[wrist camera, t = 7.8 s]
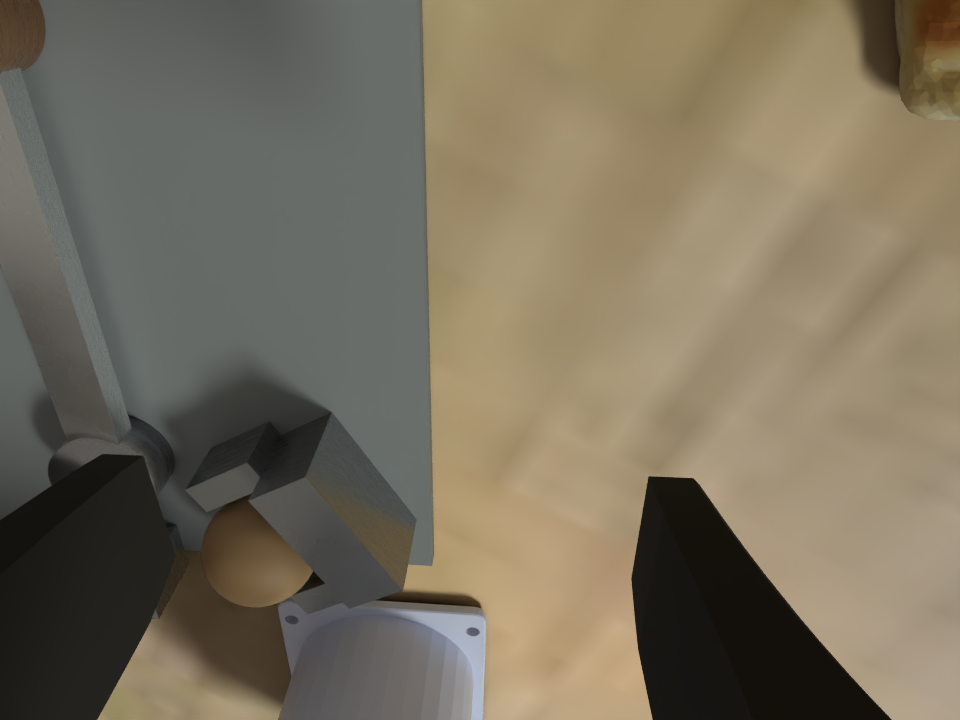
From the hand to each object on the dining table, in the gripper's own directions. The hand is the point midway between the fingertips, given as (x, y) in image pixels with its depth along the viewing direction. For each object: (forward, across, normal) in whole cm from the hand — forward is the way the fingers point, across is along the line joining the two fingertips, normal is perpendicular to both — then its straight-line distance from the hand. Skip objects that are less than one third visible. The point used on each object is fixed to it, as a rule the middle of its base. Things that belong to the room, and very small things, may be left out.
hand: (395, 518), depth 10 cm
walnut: (+10, +6, +9) cm, 15 cm away
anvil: (+10, +5, +9) cm, 14 cm away
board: (+10, +10, +2) cm, 14 cm away
